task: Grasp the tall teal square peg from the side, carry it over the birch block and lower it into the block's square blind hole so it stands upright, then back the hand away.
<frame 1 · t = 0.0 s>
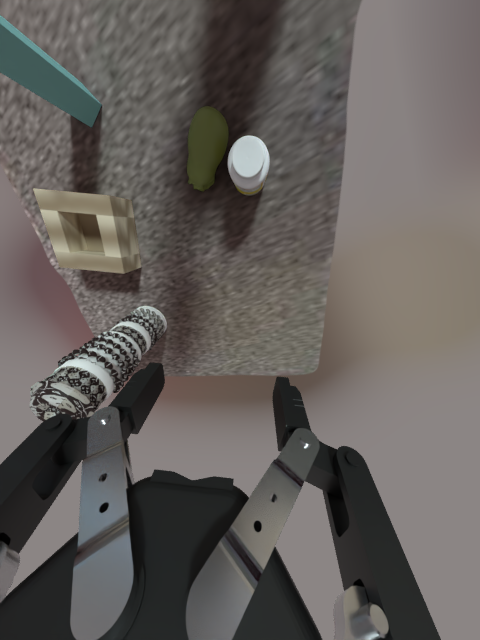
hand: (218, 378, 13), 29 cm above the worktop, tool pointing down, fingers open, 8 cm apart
pear: (208, 158, 31), on the worktop
decorative candle: (150, 321, 46), on the worktop
peg: (86, 105, 29), on the worktop
supplement bottle: (249, 177, 32), on the worktop
socket block: (106, 233, 37), on the worktop
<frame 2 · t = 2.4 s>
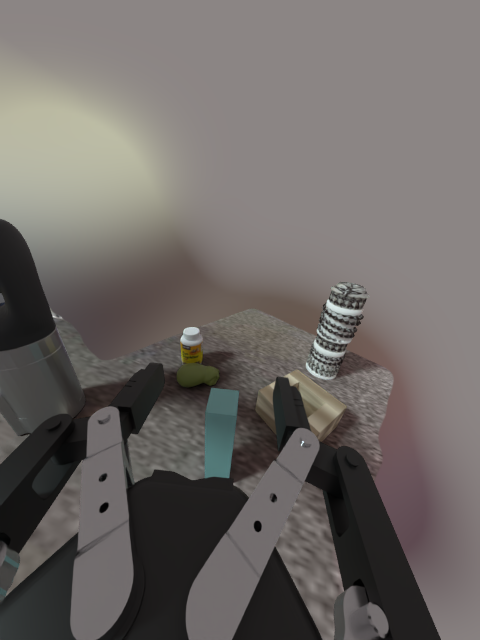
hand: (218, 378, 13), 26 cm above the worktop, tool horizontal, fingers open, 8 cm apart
pear: (198, 382, 46), on the worktop
decorative candle: (320, 369, 54), on the worktop
peg: (218, 469, 30), on the worktop
supplement bottle: (192, 363, 52), on the worktop
socket block: (295, 418, 40), on the worktop
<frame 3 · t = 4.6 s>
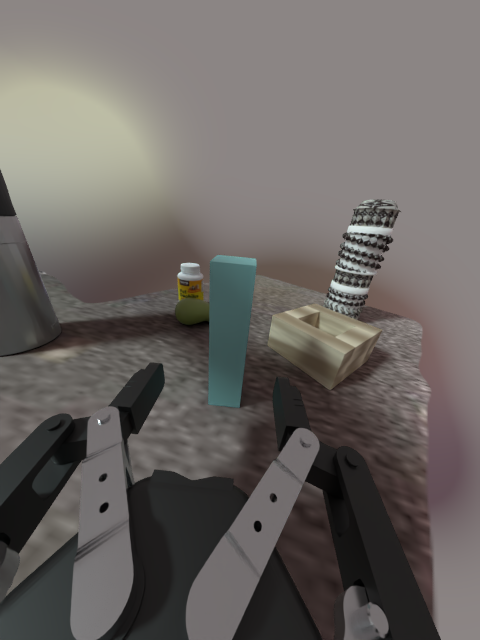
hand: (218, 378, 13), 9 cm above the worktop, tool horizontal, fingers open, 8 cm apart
pear: (201, 323, 40), on the worktop
decorative candle: (338, 318, 48), on the worktop
peg: (225, 393, 23), on the worktop
supplement bottle: (191, 308, 45), on the worktop
socket block: (316, 353, 33), on the worktop
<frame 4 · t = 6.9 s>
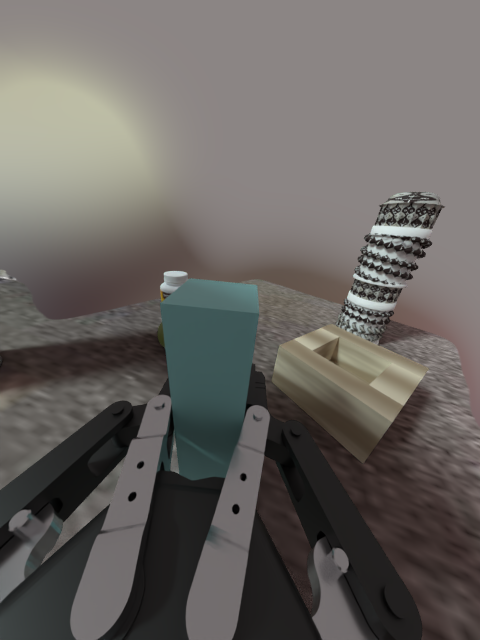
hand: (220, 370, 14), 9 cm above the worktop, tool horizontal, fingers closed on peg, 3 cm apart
decorative candle: (354, 336, 40), on the worktop
peg: (211, 476, 16), on the worktop, touching gripper
supplement bottle: (179, 325, 38), on the worktop
socket block: (335, 392, 25), on the worktop
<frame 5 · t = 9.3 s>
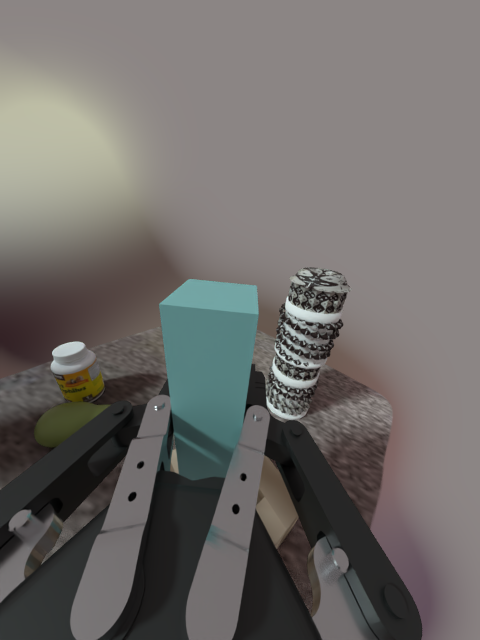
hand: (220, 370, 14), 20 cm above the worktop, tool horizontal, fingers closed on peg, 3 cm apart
pear: (88, 432, 29), on the worktop
decorative candle: (285, 400, 37), on the worktop
peg: (211, 477, 16), point 11 cm above the worktop, touching gripper
supplement bottle: (87, 395, 34), on the worktop
socket block: (218, 511, 22), on the worktop
when the fingers open (12 cm above the worktop, at t = 11.7 s): peg stays where it is, resting on socket block.
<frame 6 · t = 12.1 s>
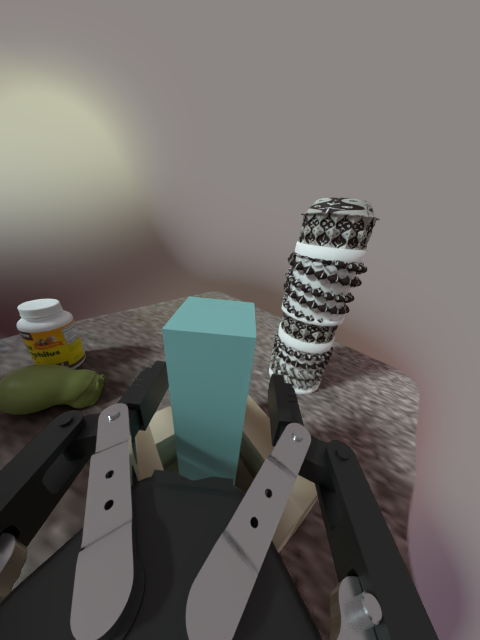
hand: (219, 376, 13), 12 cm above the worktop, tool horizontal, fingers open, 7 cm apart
pear: (64, 401, 24), on the worktop
decorative candle: (293, 375, 32), on the worktop
peg: (211, 483, 16), point 2 cm above the worktop, touching socket block
supplement bottle: (65, 365, 30), on the worktop
socket block: (210, 493, 17), on the worktop
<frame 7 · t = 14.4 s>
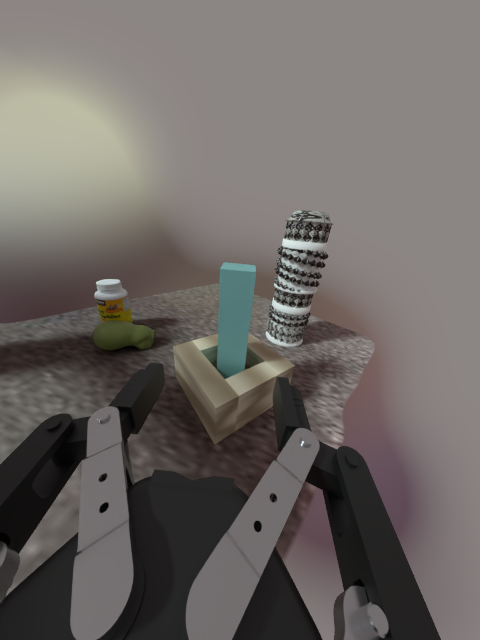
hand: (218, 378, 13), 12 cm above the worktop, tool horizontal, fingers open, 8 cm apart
pear: (129, 346, 36), on the worktop
decorative candle: (283, 337, 43), on the worktop
peg: (230, 377, 28), point 2 cm above the worktop, touching socket block
supplement bottle: (119, 328, 41), on the worktop
socket block: (229, 387, 29), on the worktop
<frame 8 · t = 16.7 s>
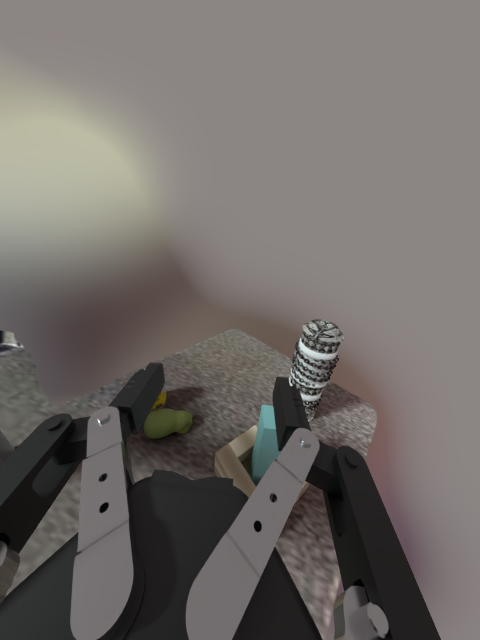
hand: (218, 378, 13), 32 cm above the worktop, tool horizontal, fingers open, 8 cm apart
pear: (170, 429, 42), on the worktop
decorative candle: (297, 408, 50), on the worktop
peg: (260, 475, 34), point 2 cm above the worktop, touching socket block
supplement bottle: (155, 403, 47), on the worktop
socket block: (258, 480, 35), on the worktop
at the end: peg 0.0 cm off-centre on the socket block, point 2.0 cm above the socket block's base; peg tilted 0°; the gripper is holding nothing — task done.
